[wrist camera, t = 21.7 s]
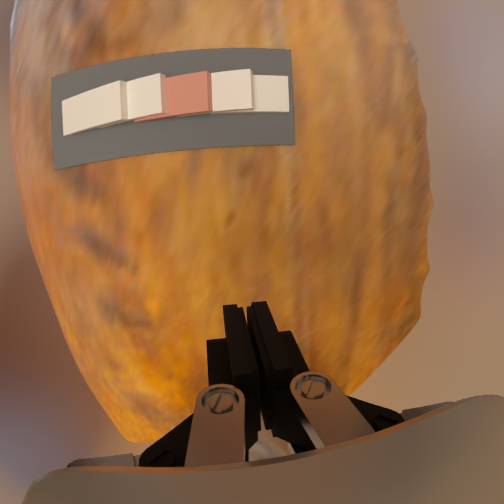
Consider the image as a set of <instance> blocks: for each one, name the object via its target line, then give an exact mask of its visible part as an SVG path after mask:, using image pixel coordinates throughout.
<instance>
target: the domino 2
mask: <svg viewBox="0 0 504 504" xmlns="http://www.w3.org/2000/svg"><path fill="white" fill-rule="evenodd" d="M127 102H128V120H125V121H120V122H116V123H112V124H108V125H105V126H101V127H97V128H103V127H107V126H111V125H115V124H119V123H123V122H127V121H132V120H136V119H141V118H146V117H151V116H156V115H161V114H166V113H168V111H167V92H166V75H164V74H161V73H158V74H154V75H150V76H146V77H142V78H138V79H134V80H131V81H127Z"/></svg>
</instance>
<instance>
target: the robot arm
mask: <svg viewBox="0 0 504 504" xmlns="http://www.w3.org/2000/svg"><path fill="white" fill-rule="evenodd" d="M223 314H224V324H225V334H226V338H223V339H212V340H207V361H208V379H209V386H208V387H207V388H205V389H203V390H202V391H201V392H200V393H199V394H198V397H197V399H196V404H195V409H194V413H193V414H192V415H190V416H189V417H188V418H187V419H185V420H184V421H183V422H182V423H180V424H179V425H178V426H176V427H175V428H174V429H173V430H171V431H170V432H169V433H167V434H166V435H165V436H163V437H162V438H161V439H159V440H158V441H157V442H155V443H154V444H153V445H151V446H150V447H148V448H147V449H146V450H145V451H144V452H143V453H142V454H141V455H136V456H133V454H132V453H130V454H122V455H115V456H106V457H96V458H85V459H78V460H74V461H72V462H71V463H69V464H68V466H67V467H66V468H62V469H58V470H54V471H50V472H47V473H45V474H42V475H41V476H39V477H37V478H36V479H35V480H34V481H33V482H32V484H31V485H30V487H29V489H28V490H27V492H26V494H25V497H24V499H23V502H22V504H504V397H502V396H499V395H481V396H474V397H470V398H466V399H462V400H459V401H456V402H444V403H438V404H433V405H428V406H423V407H418V408H412V409H406V410H403V411H402V413H397V412H395V411H393V410H391V409H387V408H384V407H381V406H377V405H374V404H371V403H368V402H364V401H362V400H358V399H355V398H352V397H349V396H346V395H345V393H344V392H343V391H342V390H341V388H340V387H339V386H338V385H337V383H336V382H335V381H334V380H333V379H332V378H331V377H330V376H329V375H327V374H325V373H322V372H317V371H309V369H308V367H307V364H306V362H305V360H304V358H303V356H302V354H301V352H300V349H299V347H298V345H297V343H296V341H295V339H294V337H293V334H292V333H291V331H282V332H278V330H277V327H276V325H275V322H274V320H273V317H272V315H271V312H270V310H269V307H268V305H267V302H266V301H262V302H252V305H251V306H249V307H247V322H246V319H245V315H244V311H243V307H240V308H237V304H233V305H223Z"/></svg>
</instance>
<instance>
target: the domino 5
mask: <svg viewBox="0 0 504 504" xmlns="http://www.w3.org/2000/svg"><path fill="white" fill-rule="evenodd" d="M253 88H254V110H241V111H228V112H217V113H211V114H226V113H287V112H289V90H288V76H275V75H253Z"/></svg>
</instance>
